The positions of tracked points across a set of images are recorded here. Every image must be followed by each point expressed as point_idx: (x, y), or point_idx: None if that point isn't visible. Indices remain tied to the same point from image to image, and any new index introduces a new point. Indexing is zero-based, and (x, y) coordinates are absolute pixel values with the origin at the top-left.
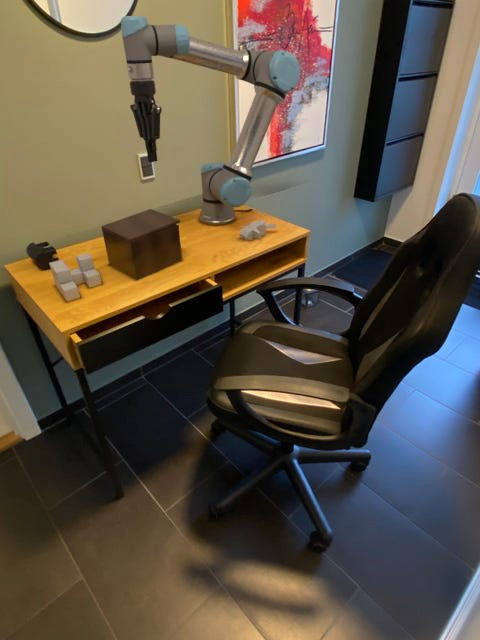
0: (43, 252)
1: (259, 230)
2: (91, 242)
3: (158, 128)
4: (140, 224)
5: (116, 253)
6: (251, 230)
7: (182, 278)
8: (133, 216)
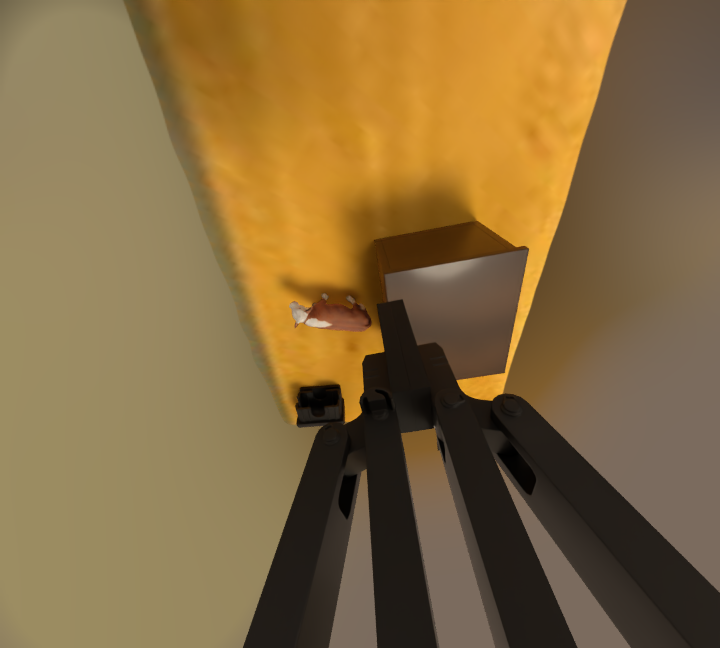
0: (343, 420)
1: None
2: (270, 328)
3: (606, 498)
4: (459, 334)
5: None
6: None
7: (533, 260)
8: None
